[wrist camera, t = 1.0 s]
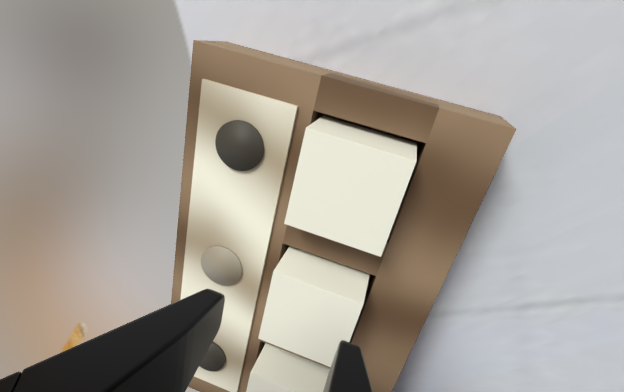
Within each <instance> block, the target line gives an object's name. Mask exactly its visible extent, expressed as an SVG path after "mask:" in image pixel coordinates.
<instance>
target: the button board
mask: <svg viewBox="0 0 624 392" xmlns="http://www.w3.org/2000/svg"><path fill="white" fill-rule="evenodd" d="M323 115H324V116H327V117H331V118H334V119H338V120H341V121H345V122H348V123H351V124H355V125H358V126H362V127H365V128H369V129H372V130H375V131H379V132H382V133H386V134H389V135H392V136H396V137H399V138H403V139H406V140H410V141H413V142H416V143H417V161H416V164H415V167H414V170H413V172H412V175H411V178H410V180H409V183H408V186H407V188H406V191H405V194H404V196H403V199H402V202H401V204H400V207H399V210H398V213H397V215H396V218H395V221H394V223H393V226H392V229H391V231H390V234H389V237H388V239H387V242H386V245H385V248H384V250H383V253H382V256H381V257H380V256H377V255H374V254H371V253H368V252H365V251H362V250H359V249H356V248H353V247H350V246H348V245H345V244H342V243H339V242H336V241H333V240H330V239H327V238H324V237H321V236H318V235H315V234H313V233H310V232H307V231H304V230H301V229H298V228H295V227H292V226H289V225H286V224H284V222H285V218H286V213H287V209H288V204H289V200H290V195H291V191H292V187H293V182H294V178H295V173H296V169H297V165H298V160H299V156H300V151H301V147H302V142H303V138H304V134H305V129H306V127H308V126H309V125H310V124H312V123H313V122H315V121H316V120H318V119H319V118H320V117H322V116H323ZM515 131H516V128H514V127H513V126H512V125H511V124H509V123H508V122H507V121H506V120H504V119H503V118H502V117H501V116H497V115H493V114H490V113H486V112H482V111H479V110H475V109H471V108H468V107H464V106H460V105H457V104H453V103H449V102H446V101H442V100H438V99H434V98H431V97H427V96H423V95H420V94H416V93H412V92H409V91H405V90H401V89H398V88H394V87H390V86H387V85H383V84H379V83H376V82H372V81H368V80H365V79H361V78H357V77H354V76H350V75H346V74H343V73H339V72H335V71H332V70H328V69H324V68H321V67H317V66H313V65H309V64H306V63H302V62H298V61H295V60H291V59H287V58H284V57H280V56H276V55H273V54H269V53H265V52H262V51H258V50H254V49H251V48H247V47H243V46H240V45H236V44H232V43H229V42H223V41H199V40H194V42H193V54H192V65H191V77H190V90H189V101H188V112H187V124H186V136H185V147H184V159H183V172H182V183H181V194H180V206H179V218H178V230H177V241H176V254H175V266H174V276H173V288H172V300H171V304H172V303H175V302H177V301H179V300H181V299H184V298H186V297H188V296H190V295H193V294H195V293H197V292H199V291H202V290H204V289H211V290H214V291H217V292H219V293H222V294H223V295H224V296H225V303H224V309H223V315H222V321H221V325H220V328H219V331H218V333H217V335H216V337H215V339H214V340H213V342H212V344H211V346H210V348H209V349H208V351H207V353H206V355H205V357H204V358H203V360H202V362H201V364H200V365H199V367H198V369H197V371H196V373H195V374H194V376H193V378H192V380H191V382H190V383H189V385H188V387H190V388H193V389H195V390H197V391H200V392H246V390H247V385H248V381H249V377H250V372H251V371H252V369H253V367H254V365H255V363H256V361H257V359H258V357H259V355H260V353H261V351H262V349H263V347H264V345H265V343H267V344H270V345H272V346H275V347H277V348H280V349H282V350H285V351H287V352H290V353H292V354H295V355H297V356H300V357H302V358H305V359H307V360H310V361H312V362H315V363H317V364H320V365H322V366H325V367H327V368H331V367H329V366H326V365H324V364H321V363H319V362H316V361H314V360H311V359H308V358H306V357H303V356H301V355H298V354H296V353H293V352H291V351H288V350H286V349H283V348H281V347H278V346H276V345H273V344H271V343H268V342H266V341H263V340H261V339H258V337H259V332H260V328H261V324H262V319H263V315H264V310H265V306H266V301H267V297H268V293H269V288H270V284H271V279H272V275H273V271H274V269H275V268H276V266H277V265H278V263H279V262H280V260H281V258H282V257H283V255H284V254H285V252H286V251H287V249H288V248H289V246H292V247H295V248H297V249H300V250H303V251H306V252H309V253H312V254H315V255H317V256H320V257H323V258H326V259H329V260H332V261H334V262H337V263H340V264H343V265H346V266H349V267H351V268H354V269H357V270H360V271H363V272H366V273H369V274H370V276H369V280H368V285H367V290H366V295H365V299H364V304H363V307H362V309H361V312H360V315H359V317H358V320H357V323H356V326H355V328H354V331H353V334H352V336H351V339H350V343H353V344H355V345H358V346H359V347H360V349H361V351H362V355H363V358H364V362H365V366H366V369H367V373H368V376H369V380H370V383H371V387H372V390H373V392H392V389H393V387H394V385H395V383H396V381H397V379H398V377H399V375H400V373H401V371H402V368H403V366H404V364H405V362H406V360H407V358H408V356H409V354H410V352H411V349H412V347H413V345H414V343H415V341H416V339H417V337H418V335H419V333H420V331H421V328H422V326H423V324H424V322H425V320H426V318H427V316H428V314H429V312H430V310H431V307H432V305H433V303H434V301H435V299H436V297H437V295H438V293H439V291H440V288H441V286H442V284H443V282H444V280H445V278H446V276H447V274H448V272H449V270H450V267H451V265H452V263H453V261H454V259H455V257H456V255H457V253H458V251H459V248H460V246H461V244H462V242H463V240H464V238H465V236H466V234H467V232H468V230H469V227H470V225H471V223H472V221H473V219H474V217H475V215H476V213H477V211H478V209H479V206H480V204H481V202H482V200H483V198H484V196H485V194H486V192H487V190H488V187H489V185H490V183H491V181H492V179H493V177H494V175H495V173H496V171H497V169H498V166H499V164H500V162H501V160H502V158H503V156H504V154H505V152H506V150H507V148H508V145H509V143H510V141H511V139H512V137H513V135H514V133H515Z"/></svg>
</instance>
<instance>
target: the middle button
mask: <svg viewBox="0 0 624 392" xmlns="http://www.w3.org/2000/svg"><path fill="white" fill-rule="evenodd" d="M369 276H370V274H369V273H366V272H363V271H360V270H357V269H354V268H351V267H349V266H346V265H343V264H340V263H337V262H334V261H332V260H329V259H326V258H323V257H320V256H317V255H315V254H312V253H309V252H306V251H303V250H300V249H297V248H295V247H292V246H289V248H288V249H287V251H286V252H285V254H284V255H283V257H282V258H281V260H280V262H279V263H278V265H277V266H276V268H275V269H274V271H273V275H272V279H271V284H270V288H269V293H268V297H267V301H266V306H265V310H264V315H263V319H262V324H261V328H260V332H259V337H258V339H261V340H263V341H266V342H268V343H271V344H273V345H276V346H278V347H281V348H283V349H286V350H288V351H291V352H293V353H296V354H298V355H301V356H303V357H306V358H308V359H311V360H314V361H316V362H319V363H321V364H324V365H326V366H329V367H331V365H332V362H333V359H334V356H335V353H336V351H337V348H338V345H339V343H340V341H341V340H345V341H347V342H350V339H351V336H352V334H353V331H354V328H355V326H356V323H357V320H358V317H359V315H360V312H361V309H362V307H363V304H364V299H365V295H366V290H367V285H368V280H369Z"/></svg>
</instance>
